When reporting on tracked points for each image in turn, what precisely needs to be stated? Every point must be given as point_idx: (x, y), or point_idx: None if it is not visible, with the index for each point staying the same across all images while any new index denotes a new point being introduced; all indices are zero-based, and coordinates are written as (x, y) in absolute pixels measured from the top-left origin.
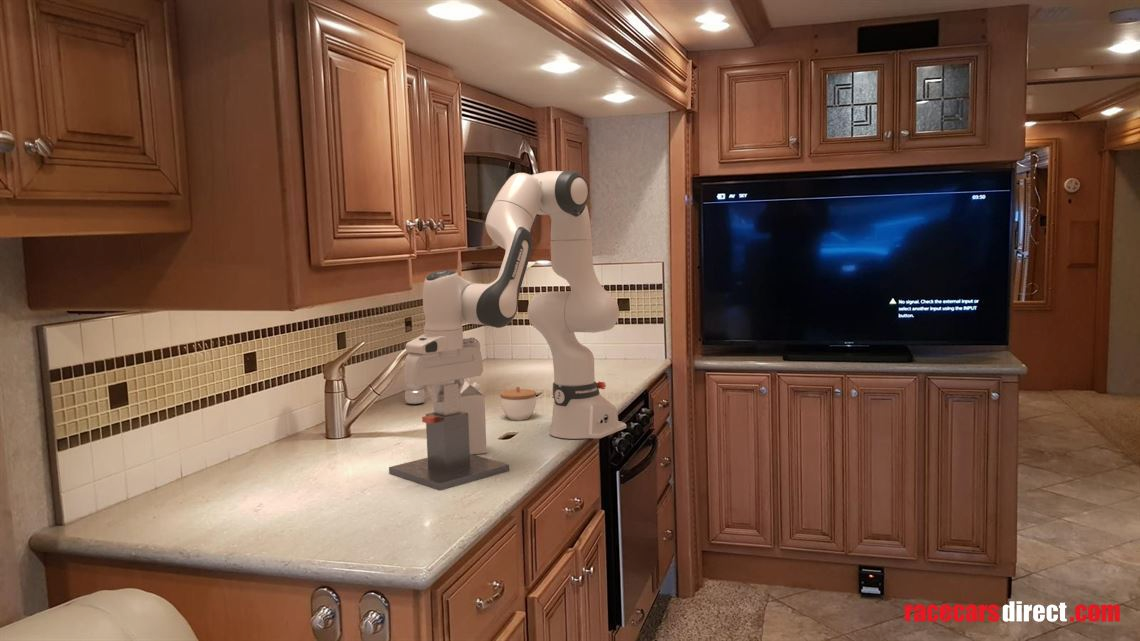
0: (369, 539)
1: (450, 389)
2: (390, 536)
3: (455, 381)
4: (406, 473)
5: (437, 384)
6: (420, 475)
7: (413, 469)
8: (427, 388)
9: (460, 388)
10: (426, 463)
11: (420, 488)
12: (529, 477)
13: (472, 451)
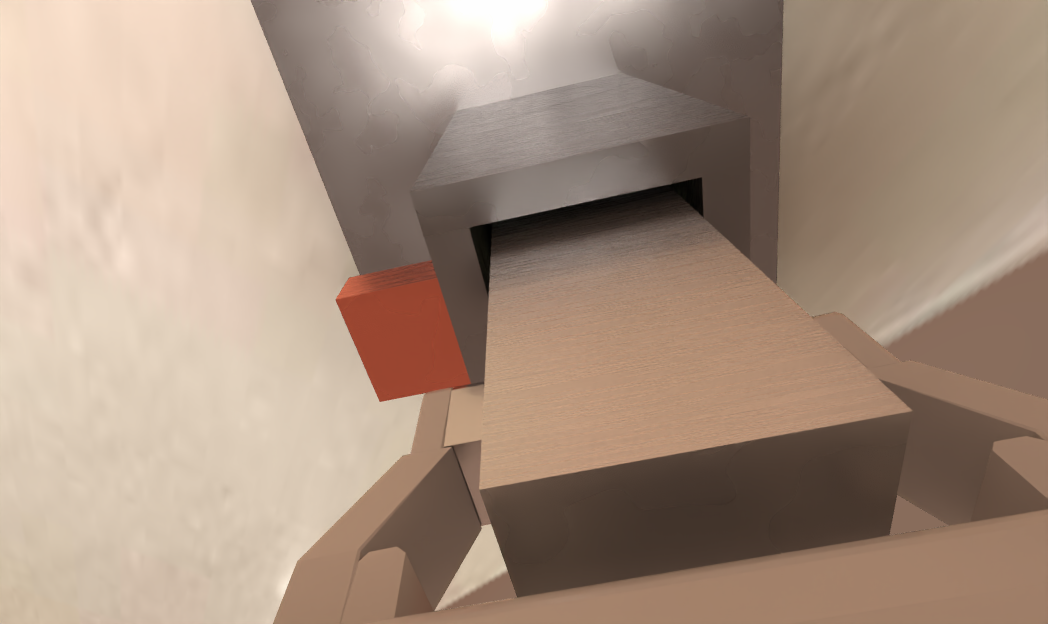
0: (124, 604)
1: None
2: (179, 610)
3: (1003, 503)
4: (316, 161)
5: (539, 565)
6: (368, 249)
7: (365, 122)
8: (311, 565)
9: (909, 485)
10: (470, 43)
11: None
12: None
13: None
